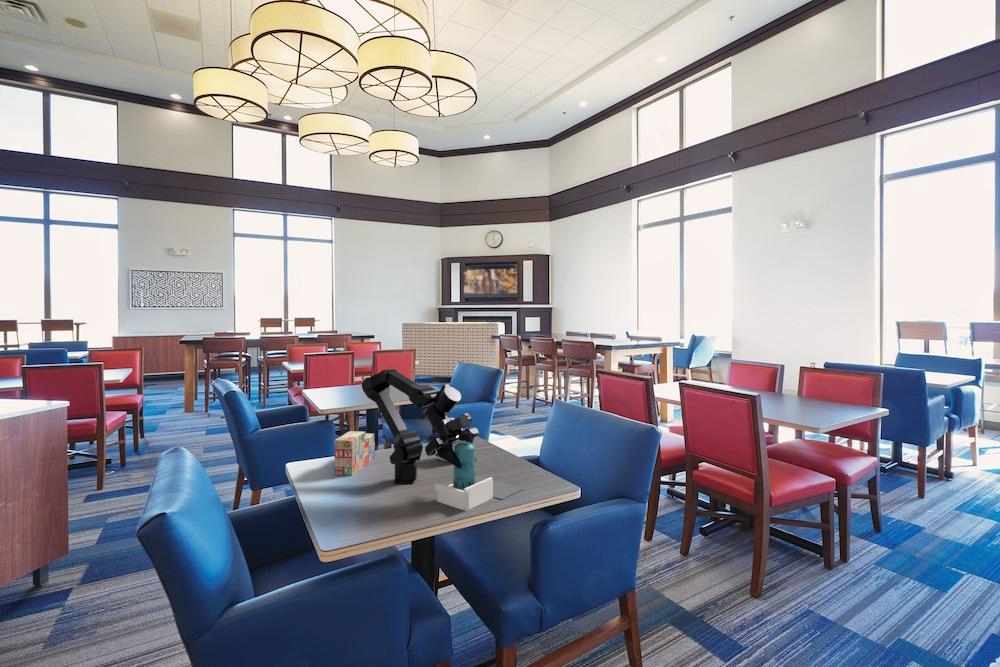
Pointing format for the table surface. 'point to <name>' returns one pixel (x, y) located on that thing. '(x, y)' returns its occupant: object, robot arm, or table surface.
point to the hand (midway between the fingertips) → (468, 464)
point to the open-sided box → (465, 494)
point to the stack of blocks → (353, 452)
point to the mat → (501, 488)
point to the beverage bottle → (464, 462)
